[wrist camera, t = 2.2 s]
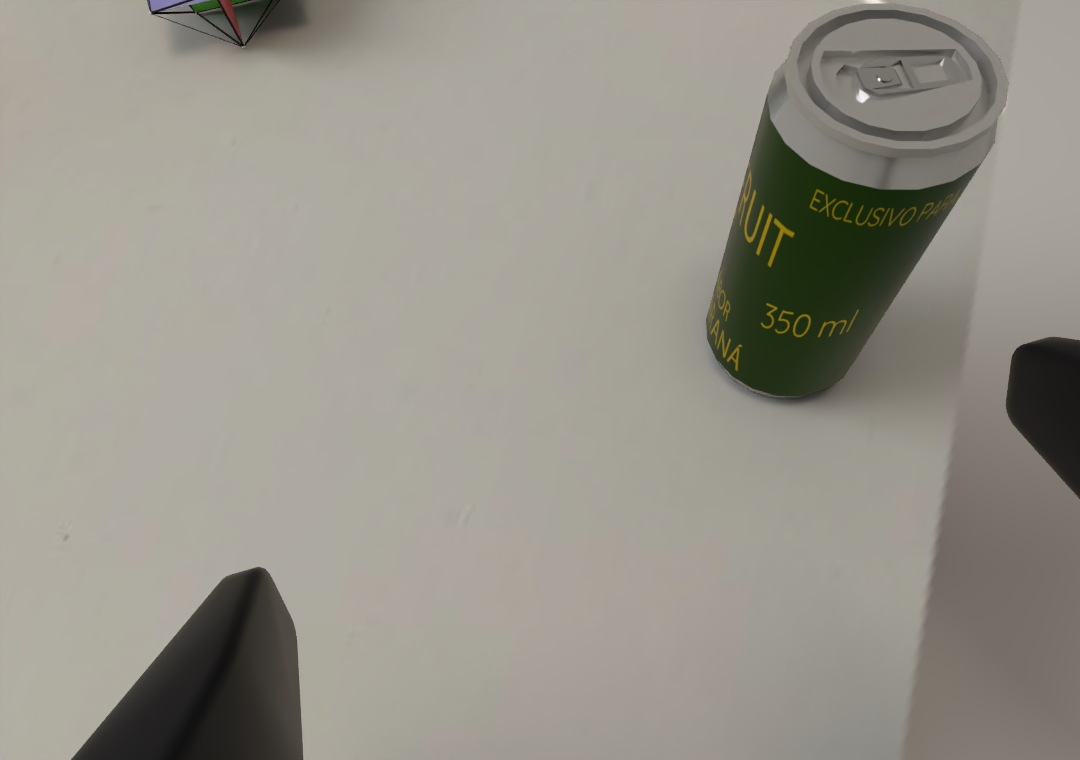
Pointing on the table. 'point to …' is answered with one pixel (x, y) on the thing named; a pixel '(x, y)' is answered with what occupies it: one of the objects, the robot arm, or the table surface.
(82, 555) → the table surface
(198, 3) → the geometric puzzle
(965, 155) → the green metal cylinder
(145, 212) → the table surface
